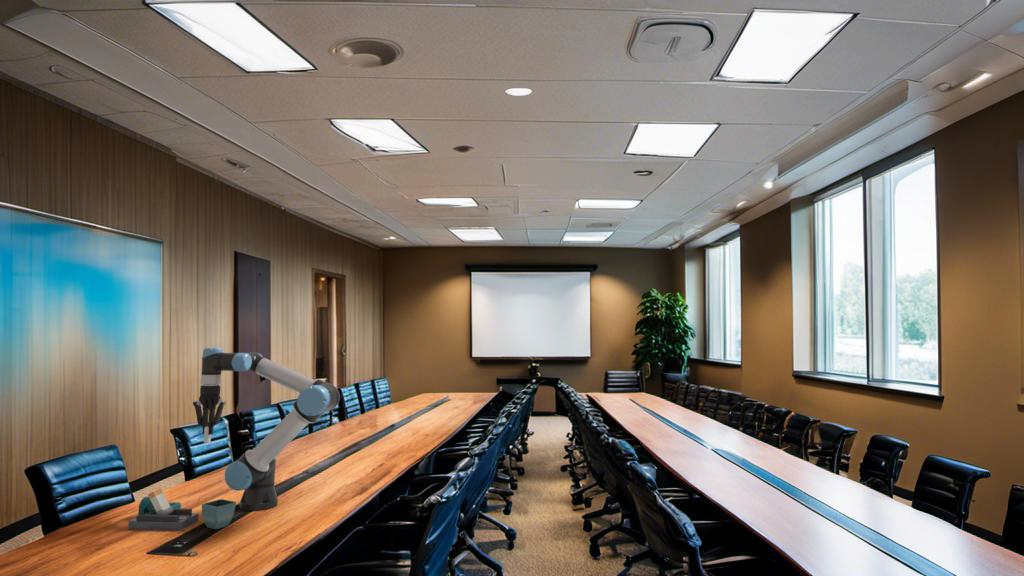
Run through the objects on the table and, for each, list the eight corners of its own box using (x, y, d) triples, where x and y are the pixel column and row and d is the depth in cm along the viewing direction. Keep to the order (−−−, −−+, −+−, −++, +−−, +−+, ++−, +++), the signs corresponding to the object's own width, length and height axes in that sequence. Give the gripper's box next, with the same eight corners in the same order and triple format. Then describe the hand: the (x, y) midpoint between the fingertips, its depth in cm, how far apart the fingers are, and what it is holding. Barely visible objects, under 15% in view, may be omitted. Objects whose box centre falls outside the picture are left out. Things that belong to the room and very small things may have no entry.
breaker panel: (198, 521, 237) (198, 512, 237) (181, 530, 225) (182, 521, 225) (147, 520, 237) (148, 511, 237) (128, 529, 225) (128, 520, 225)
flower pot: (235, 525, 232) (236, 501, 232) (215, 531, 224) (217, 507, 225) (219, 522, 235) (220, 498, 236) (199, 528, 227) (200, 504, 228)
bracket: (153, 520, 237) (154, 499, 238) (137, 519, 238) (139, 498, 239) (184, 508, 255) (185, 489, 256) (169, 507, 256) (171, 488, 257)
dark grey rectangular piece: (191, 513, 236) (192, 508, 236) (176, 521, 225) (176, 516, 226) (153, 512, 236) (153, 508, 237) (136, 520, 226) (136, 515, 226)
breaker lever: (174, 511, 234) (162, 487, 235) (165, 515, 228) (153, 491, 229) (167, 515, 234) (155, 491, 235) (158, 520, 228) (146, 495, 229)
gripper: (230, 384, 256) (227, 441, 254) (199, 384, 256) (196, 440, 254) (221, 385, 249) (218, 444, 246) (190, 385, 249) (186, 443, 246)
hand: (207, 442), depth 250 cm, fingers closed
